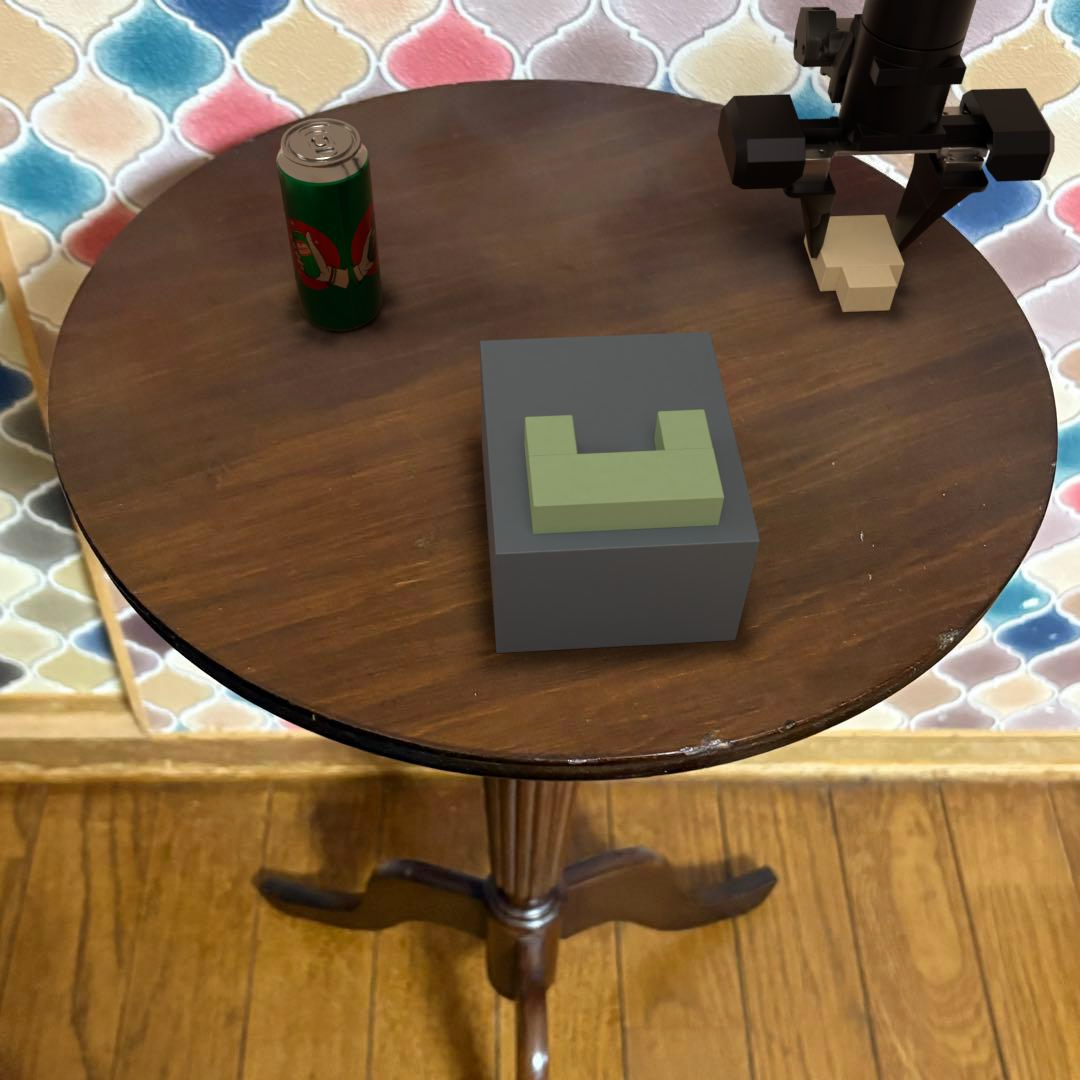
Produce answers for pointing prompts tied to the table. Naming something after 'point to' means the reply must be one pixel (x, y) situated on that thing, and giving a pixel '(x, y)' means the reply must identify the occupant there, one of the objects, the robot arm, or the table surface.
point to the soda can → (331, 223)
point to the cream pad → (859, 262)
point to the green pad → (622, 478)
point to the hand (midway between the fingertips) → (853, 252)
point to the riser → (617, 555)
